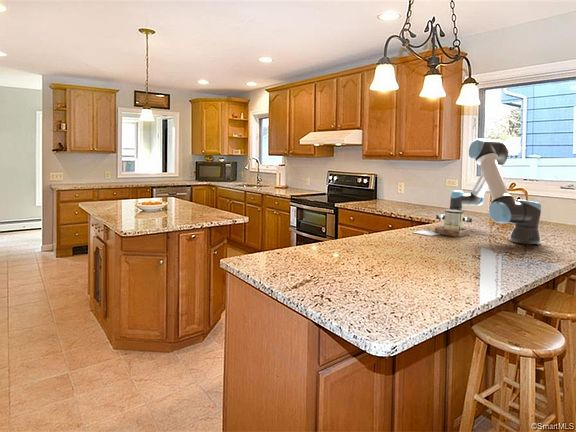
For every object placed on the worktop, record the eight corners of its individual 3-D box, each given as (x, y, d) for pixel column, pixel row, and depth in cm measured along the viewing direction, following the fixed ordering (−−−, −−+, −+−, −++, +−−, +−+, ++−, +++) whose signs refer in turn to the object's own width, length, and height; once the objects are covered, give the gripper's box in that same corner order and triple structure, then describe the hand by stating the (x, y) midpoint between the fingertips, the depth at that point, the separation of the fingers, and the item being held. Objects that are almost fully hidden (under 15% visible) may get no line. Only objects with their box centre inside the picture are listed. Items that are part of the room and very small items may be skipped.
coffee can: (441, 231, 255) (443, 208, 253) (458, 232, 254) (460, 209, 252) (445, 234, 244) (447, 211, 242) (463, 235, 243) (466, 212, 241)
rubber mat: (441, 234, 246) (441, 233, 246) (431, 236, 238) (431, 235, 237) (422, 231, 254) (422, 230, 254) (412, 232, 246) (412, 232, 246)
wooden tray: (469, 234, 249) (469, 229, 248) (458, 236, 239) (459, 231, 239) (446, 230, 259) (446, 225, 259) (435, 232, 249) (435, 228, 249)
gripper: (475, 223, 260) (475, 228, 241) (433, 220, 270) (430, 224, 250) (476, 212, 259) (477, 216, 240) (434, 208, 269) (431, 212, 249)
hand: (453, 220), depth 245 cm, fingers open, 13 cm apart
